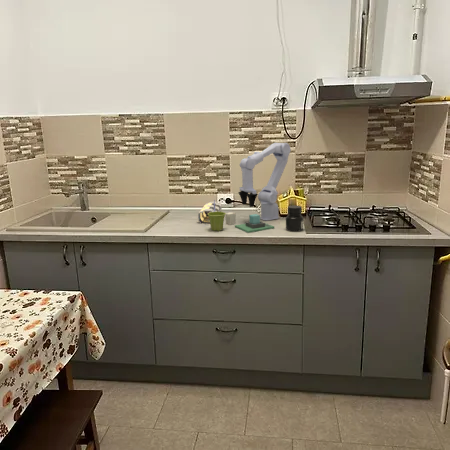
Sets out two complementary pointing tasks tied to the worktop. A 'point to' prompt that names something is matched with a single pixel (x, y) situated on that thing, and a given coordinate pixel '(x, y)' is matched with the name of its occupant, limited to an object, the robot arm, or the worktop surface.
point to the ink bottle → (294, 219)
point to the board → (254, 227)
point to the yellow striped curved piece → (209, 210)
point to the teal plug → (254, 219)
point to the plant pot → (216, 220)
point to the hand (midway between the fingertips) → (248, 205)
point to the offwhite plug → (230, 218)
